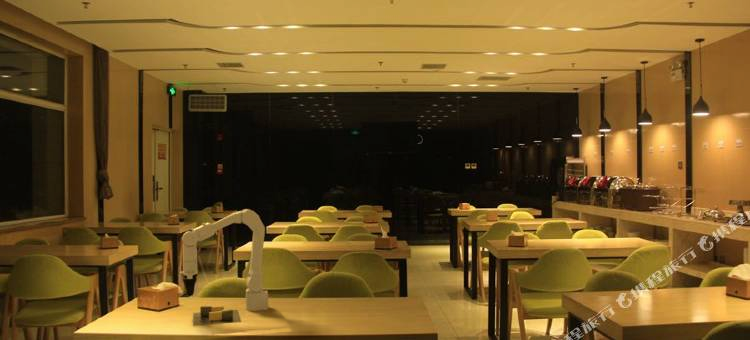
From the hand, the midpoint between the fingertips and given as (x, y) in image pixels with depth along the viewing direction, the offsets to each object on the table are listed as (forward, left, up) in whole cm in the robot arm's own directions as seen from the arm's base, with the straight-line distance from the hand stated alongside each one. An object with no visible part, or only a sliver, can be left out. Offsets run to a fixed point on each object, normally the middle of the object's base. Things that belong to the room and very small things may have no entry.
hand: (190, 293), depth 240 cm
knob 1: (-8, +4, -8) cm, 12 cm away
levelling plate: (-10, +9, -10) cm, 16 cm away
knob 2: (-12, +14, -8) cm, 20 cm away
